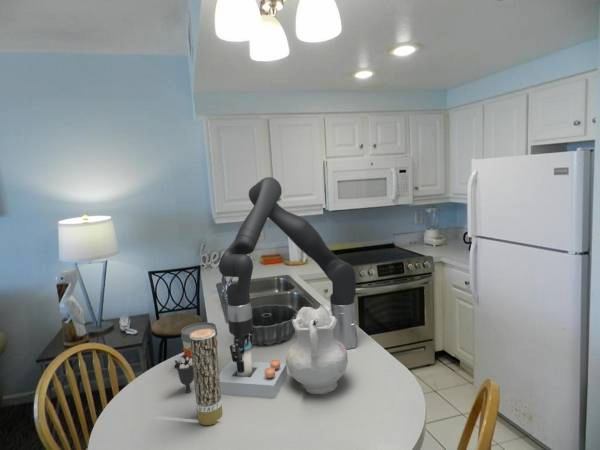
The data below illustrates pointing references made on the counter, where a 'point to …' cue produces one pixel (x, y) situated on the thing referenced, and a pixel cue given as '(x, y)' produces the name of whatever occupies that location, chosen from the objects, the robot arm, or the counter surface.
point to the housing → (252, 381)
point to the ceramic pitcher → (316, 351)
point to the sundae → (185, 370)
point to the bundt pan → (272, 323)
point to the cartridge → (246, 362)
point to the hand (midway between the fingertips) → (244, 367)
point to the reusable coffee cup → (191, 328)
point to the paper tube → (206, 376)
